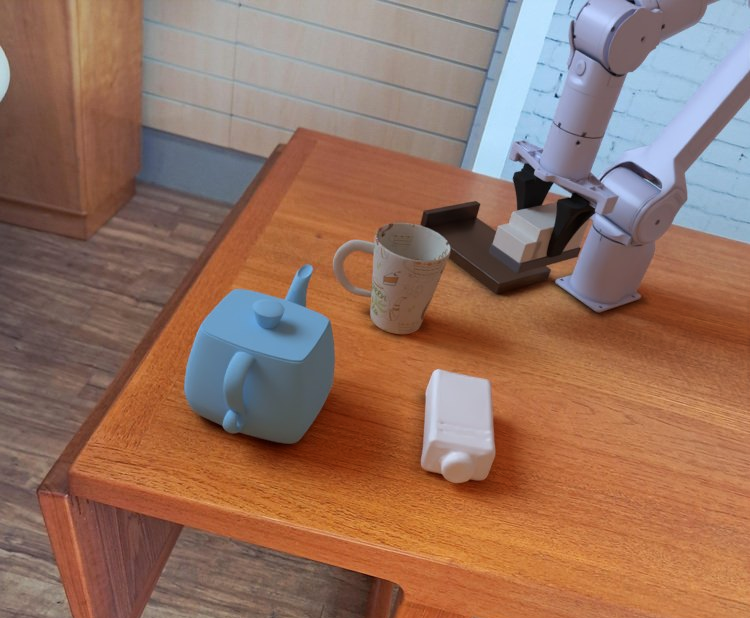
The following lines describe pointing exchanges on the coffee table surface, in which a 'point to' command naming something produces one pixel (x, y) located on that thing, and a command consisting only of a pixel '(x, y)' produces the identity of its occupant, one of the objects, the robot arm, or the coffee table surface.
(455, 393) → the white bottle
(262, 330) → the teapot
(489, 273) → the shoe shelf
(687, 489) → the coffee table surface
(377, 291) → the mug
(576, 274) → the robot arm
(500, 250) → the white stepped block
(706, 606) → the coffee table surface
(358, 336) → the coffee table surface
